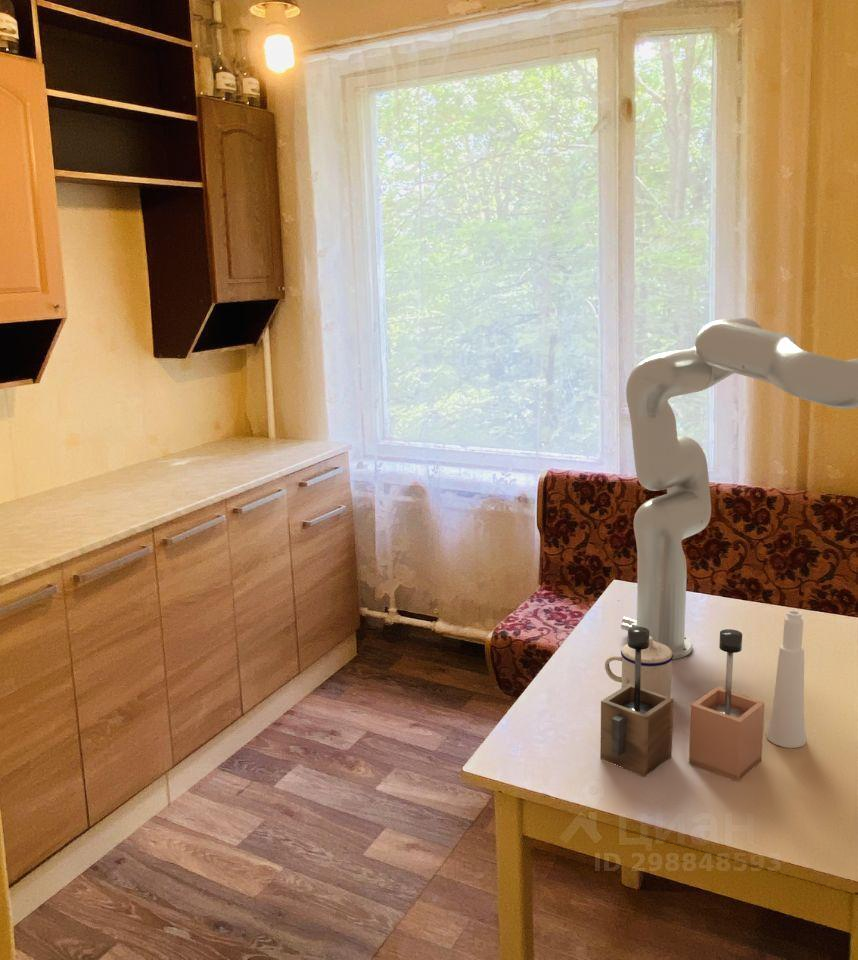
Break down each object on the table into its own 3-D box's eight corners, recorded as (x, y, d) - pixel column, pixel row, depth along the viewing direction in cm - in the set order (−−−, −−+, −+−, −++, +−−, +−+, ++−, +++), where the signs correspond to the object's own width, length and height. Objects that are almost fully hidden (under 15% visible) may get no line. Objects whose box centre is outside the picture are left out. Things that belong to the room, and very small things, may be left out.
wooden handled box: (671, 756, 140) (673, 698, 137) (637, 782, 133) (638, 722, 131) (628, 739, 145) (629, 683, 143) (593, 763, 138) (593, 705, 136)
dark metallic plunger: (611, 714, 138) (612, 631, 135) (631, 701, 142) (632, 620, 139) (642, 726, 134) (644, 641, 131) (662, 713, 138) (664, 629, 135)
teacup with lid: (675, 690, 161) (677, 630, 159) (667, 712, 153) (669, 650, 151) (609, 680, 166) (610, 622, 163) (599, 702, 158) (600, 641, 155)
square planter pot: (688, 763, 138) (690, 704, 135) (719, 738, 144) (722, 682, 142) (737, 782, 132) (740, 722, 130) (767, 755, 139) (770, 698, 136)
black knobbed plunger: (701, 718, 136) (704, 634, 133) (718, 705, 140) (722, 623, 136) (735, 730, 132) (740, 644, 129) (752, 717, 136) (757, 632, 132)
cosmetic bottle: (807, 733, 145) (816, 608, 140) (804, 751, 140) (814, 622, 135) (768, 726, 147) (775, 603, 142) (764, 744, 142) (771, 616, 137)
